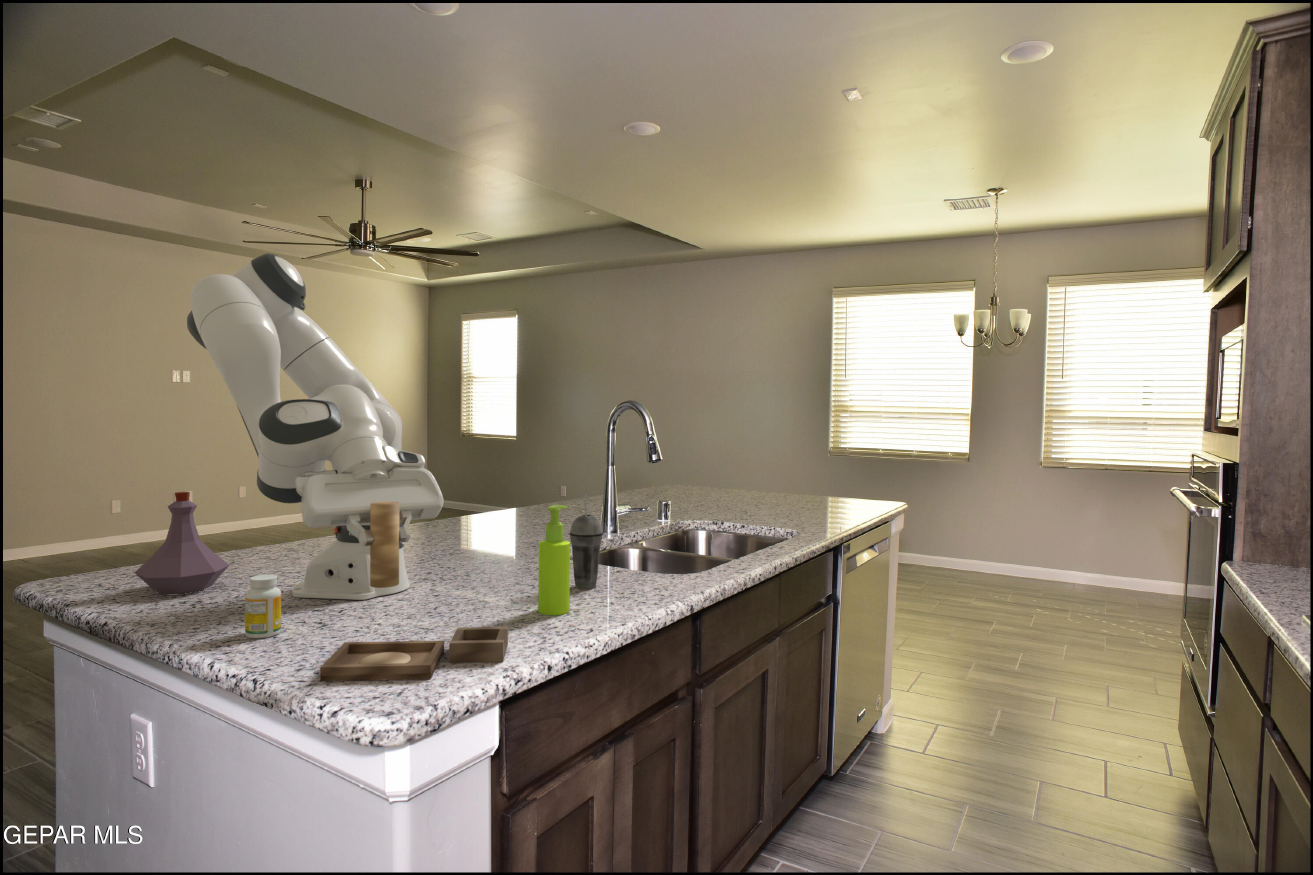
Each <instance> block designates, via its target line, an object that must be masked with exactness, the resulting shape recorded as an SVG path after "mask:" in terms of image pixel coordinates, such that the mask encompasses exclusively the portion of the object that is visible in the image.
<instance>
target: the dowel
mask: <svg viewBox="0 0 1313 875" xmlns="http://www.w3.org/2000/svg"><path fill="white" fill-rule="evenodd" d="M370 530H371V532H372V536H373V543H372V545H371V546H370V586H371V587H375V588H387V587H394V586H397V585H399V502H374V503H371V504H370Z"/></svg>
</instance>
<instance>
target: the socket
mask: <svg viewBox="0 0 1313 875" xmlns="http://www.w3.org/2000/svg"><path fill="white" fill-rule="evenodd" d="M448 643H449V644H448V649H449V650H448V653H449V654H448V659H449V660H448V663H449V664H459V663H465V664H466V663H504V660H505V657H506V653H507V651H508V650H507V649H508V647H509V626H463V627H459V626H458V627H456V630H455V631H454V634H453V636H452V637H451V639H450V641H449V642H448Z"/></svg>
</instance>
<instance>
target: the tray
mask: <svg viewBox="0 0 1313 875" xmlns="http://www.w3.org/2000/svg"><path fill="white" fill-rule="evenodd" d="M444 655H445V640H408V641H407V640H404V641H403V640H402V641H401V640H399V641H398V640H397V641H396V640H394V641H389V640H388V641H345V642H343V643H342V644H341V645H340V646H339V647H338V649H337V650H335V652H333V654H331V655H330V656H329V657H328V659H326V661H324V663H323V664H321V665H320V667H319V682H322V683H323V682H358V681H359V682H362V681H399V680H400V681H402V680H406V681H408V680H411V681H412V680H431V679H432V677H433V675H434V673H435V672H436V669H437V668H438V666H439V663H440V662H441V660H442V658H443V657H444Z"/></svg>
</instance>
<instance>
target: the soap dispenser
mask: <svg viewBox="0 0 1313 875" xmlns="http://www.w3.org/2000/svg"><path fill="white" fill-rule="evenodd" d="M563 509H566V510H568V509H569V506H568V505H563V504H553V505H550V506H548V507H546V511H547V512H549V513H550V517H549V518H550V520H549V522H548V523H546V524H545V540H541V541H539V542H538V576H537V577H538V584H537V585H538V589H537V591H538V594H537V602H538V604H537V608H538V609H537V612H538V613H539V614H541V615H545V616H561V615H565V614H567V613H569V612H570V600H571V599H570V591H571V590H570V589H571V588H570V587H571V585H570V584H571V541H568V540H564V538H565V535H564V530H565V528H564V525H565V524H564V523H562V522H561V521H560V510H563Z"/></svg>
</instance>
